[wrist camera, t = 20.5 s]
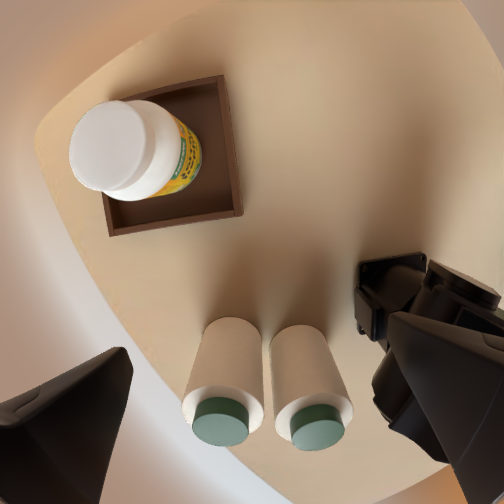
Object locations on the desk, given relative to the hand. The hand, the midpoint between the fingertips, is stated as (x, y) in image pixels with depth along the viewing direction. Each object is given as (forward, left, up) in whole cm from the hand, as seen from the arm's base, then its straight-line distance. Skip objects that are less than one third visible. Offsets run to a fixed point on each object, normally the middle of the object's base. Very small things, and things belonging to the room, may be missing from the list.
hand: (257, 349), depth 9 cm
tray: (+5, -8, -13) cm, 16 cm away
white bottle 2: (-3, +9, -13) cm, 16 cm away
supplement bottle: (+5, -8, -13) cm, 16 cm away
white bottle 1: (+3, +8, -13) cm, 15 cm away
